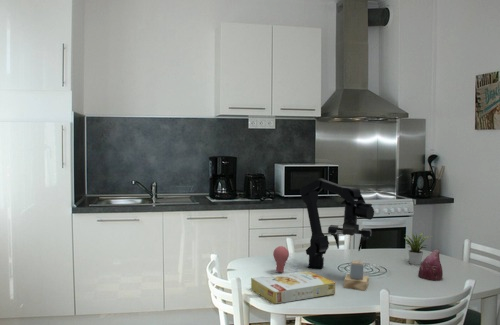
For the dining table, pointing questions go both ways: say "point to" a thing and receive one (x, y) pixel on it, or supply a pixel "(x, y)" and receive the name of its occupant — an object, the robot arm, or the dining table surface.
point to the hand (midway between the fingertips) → (348, 249)
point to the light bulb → (280, 257)
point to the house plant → (415, 249)
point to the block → (356, 282)
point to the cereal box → (292, 286)
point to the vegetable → (431, 267)
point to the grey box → (356, 270)
